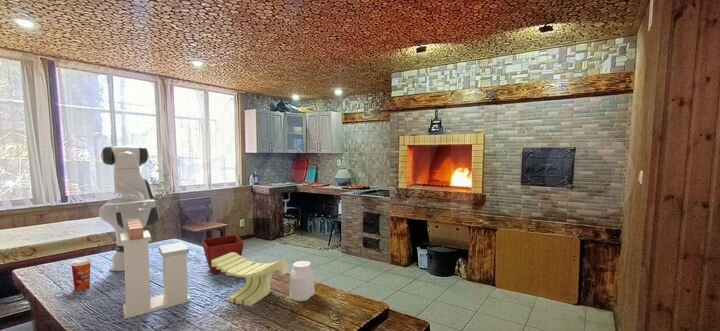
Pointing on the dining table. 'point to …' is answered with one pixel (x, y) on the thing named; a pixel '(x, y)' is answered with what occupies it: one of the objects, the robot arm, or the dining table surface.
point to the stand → (140, 278)
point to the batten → (135, 229)
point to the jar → (301, 281)
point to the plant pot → (221, 248)
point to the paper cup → (81, 274)
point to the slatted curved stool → (249, 276)
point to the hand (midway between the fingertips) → (131, 207)
